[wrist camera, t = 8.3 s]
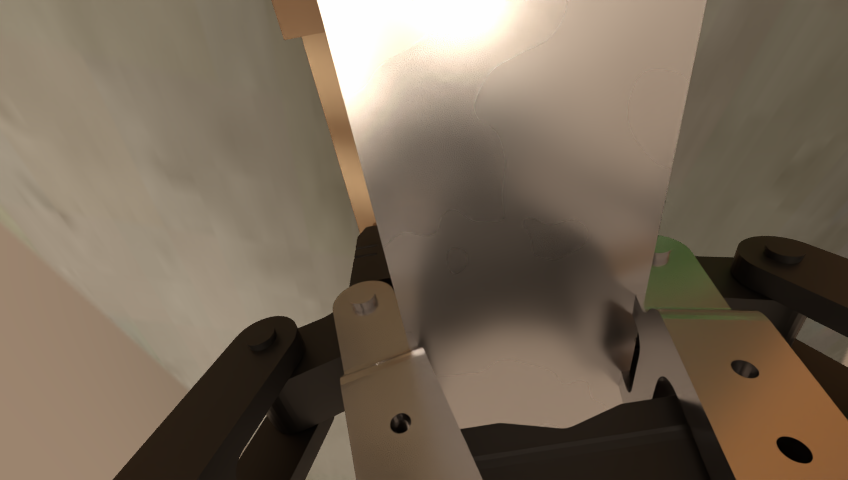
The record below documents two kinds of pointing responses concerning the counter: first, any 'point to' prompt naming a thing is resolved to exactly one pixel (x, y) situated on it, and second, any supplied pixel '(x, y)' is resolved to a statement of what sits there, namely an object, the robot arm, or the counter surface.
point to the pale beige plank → (517, 183)
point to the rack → (328, 96)
